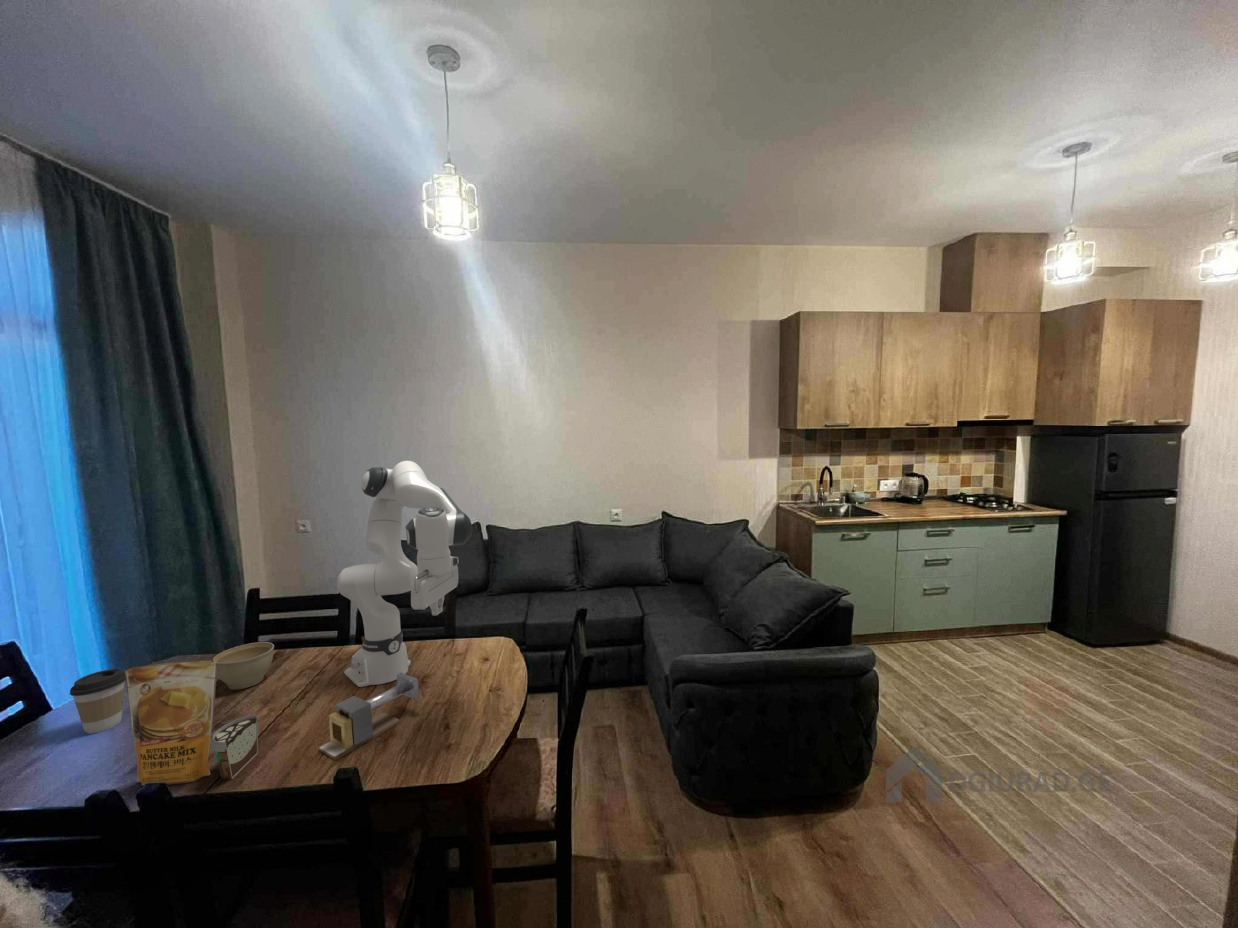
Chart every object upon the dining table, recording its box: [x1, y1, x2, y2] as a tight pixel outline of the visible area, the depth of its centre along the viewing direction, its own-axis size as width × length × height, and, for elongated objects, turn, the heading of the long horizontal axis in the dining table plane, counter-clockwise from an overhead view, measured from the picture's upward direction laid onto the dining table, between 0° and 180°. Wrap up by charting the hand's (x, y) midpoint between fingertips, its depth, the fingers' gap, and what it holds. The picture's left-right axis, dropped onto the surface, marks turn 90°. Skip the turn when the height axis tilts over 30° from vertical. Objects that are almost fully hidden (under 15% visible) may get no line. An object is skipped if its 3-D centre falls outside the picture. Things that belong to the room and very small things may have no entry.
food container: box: [210, 714, 260, 780], centre depth 119 cm, size 12×6×10 cm, turn 5°
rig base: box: [318, 711, 401, 761], centre depth 130 cm, size 8×18×1 cm, turn 149°
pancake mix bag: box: [123, 659, 218, 787], centre depth 116 cm, size 7×19×28 cm, turn 96°
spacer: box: [328, 711, 353, 750], centre depth 125 cm, size 7×2×7 cm, turn 59°
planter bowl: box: [212, 641, 275, 690], centre depth 161 cm, size 16×16×11 cm
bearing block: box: [335, 695, 374, 749], centre depth 129 cm, size 8×5×10 cm, turn 59°
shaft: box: [366, 673, 419, 712], centre depth 135 cm, size 8×18×6 cm, turn 149°
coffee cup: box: [69, 668, 126, 735], centre depth 138 cm, size 11×11×15 cm
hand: (437, 613), depth 135 cm, fingers closed
